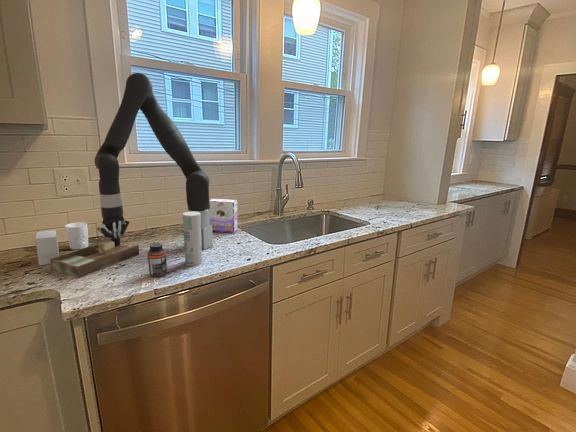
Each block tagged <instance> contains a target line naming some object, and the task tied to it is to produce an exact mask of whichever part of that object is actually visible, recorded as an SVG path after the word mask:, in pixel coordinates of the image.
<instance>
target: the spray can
mask: <svg viewBox="0 0 576 432" xmlns="http://www.w3.org/2000/svg"><path fill="white" fill-rule="evenodd" d="M182 229H183V230H182V231H183V245H184V259H185V260H184V261H185V265H186V266H187V267H188V266H189V267H196V266H199V265H201V264H202V262H203V254H202V253H203V249H202V246H201V214H200V212H188V211H185V212H183V213H182Z"/></svg>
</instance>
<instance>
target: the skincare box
mask: <svg viewBox="0 0 576 432" xmlns="http://www.w3.org/2000/svg"><path fill="white" fill-rule="evenodd" d="M34 240H35V247H36V254H37V260H38V266H43V265H44V266H46V265H51V262H50V259H52V258H55V257H58V256H60V251H59V249H60V247H59V241H58V236H57V230H56V229H55V230H54V229H52V230H43V231H42V230H41V231H36V234H35V239H34Z"/></svg>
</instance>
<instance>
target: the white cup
mask: <svg viewBox="0 0 576 432" xmlns="http://www.w3.org/2000/svg"><path fill="white" fill-rule="evenodd" d="M88 228H89V227H88V223H87V222H85V221H84V222H83V221H81V222H80V221H78V222H71V223H67V224H65V226H64V229H65V233H66V237H67V242H68V245H69V248H70V250H81V249H84V248H87V247H90V246H89V244H90V243H89V230H88Z"/></svg>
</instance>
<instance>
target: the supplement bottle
mask: <svg viewBox="0 0 576 432" xmlns="http://www.w3.org/2000/svg"><path fill="white" fill-rule="evenodd" d="M147 262H148V263H147V265H148V272H149V276H150V277H152V278H160V277H164V276H165V275H166V274H167V273H168V266H167V253H166V249H164V247H163V243H161V242H155V243H151V244H149V250H148V251H147Z"/></svg>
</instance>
